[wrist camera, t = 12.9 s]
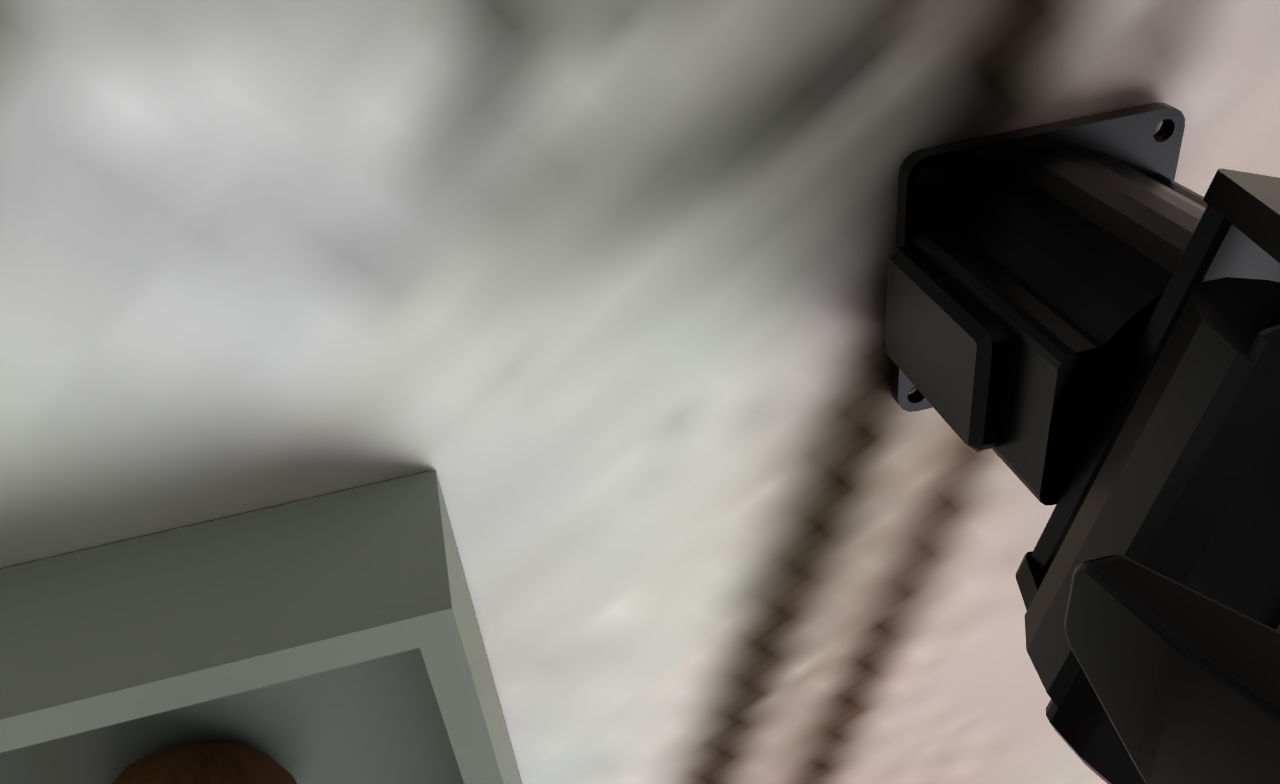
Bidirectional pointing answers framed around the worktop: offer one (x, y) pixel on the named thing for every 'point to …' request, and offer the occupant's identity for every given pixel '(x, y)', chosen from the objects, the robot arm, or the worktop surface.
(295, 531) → the tote
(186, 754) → the wooden figurine
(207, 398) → the worktop surface
